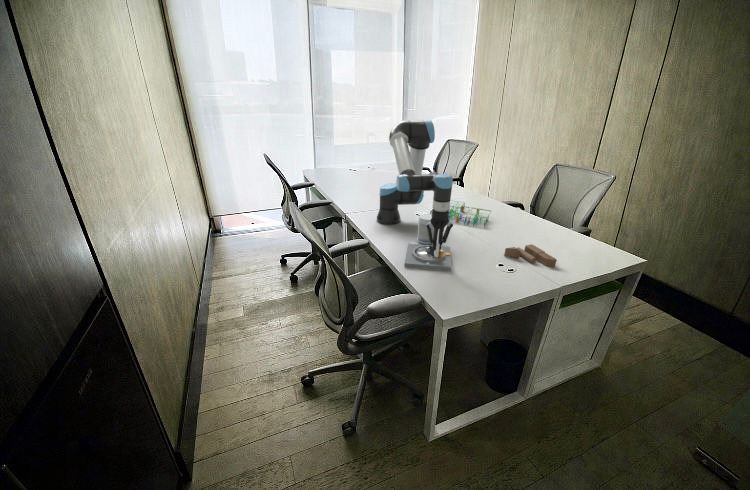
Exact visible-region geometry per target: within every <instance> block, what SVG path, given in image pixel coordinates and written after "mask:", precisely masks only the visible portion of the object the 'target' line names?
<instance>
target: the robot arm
mask: <svg viewBox="0 0 750 490" xmlns="http://www.w3.org/2000/svg"><path fill="white" fill-rule="evenodd" d="M435 131H436V130H435V126H434V123H433V121H432V120H429V119H428V120H427V119H416V120H415V119H411V120H410V119H403V120H400V121H398V122H397V123H396V124H394V125H393V127H392V128H391V130H390V132H389V136H388V141H389V145H390V146H391V147H392V149H393V153H394V158H395V163H396V166H397V170H398V175H397V176H396V181H395V182H396V183H394V182H388V183H386V184H382V185H381V186H380V187H379V208H378V212H377V215H376V221H377V223H380V224H381V225H387V226H388V225H389V226H390V225H391V226H392V225H397V224H398V223H400V222H401V215H400V211H399V206H401V205H418V204H421V203H422V201H423V200H424V192H425V191H426V192H430V191H433V197H432V198H433V199H432V200H433V201H432V209H431V210H432V212H431V214H432V218H431V220H430V222H429V223H426V224H425V225H426V227H427V230H428V236H429V241H430V242H431V243H432V245H433V250H434V256H435V257H438V255H439V250H441V246H442V245H443V244H446V243H447V240H448V238H449V234H450V232H451V229H452V228H453V226H454V224H453V222H452V221H450V219H449V220H448V217H449V212H450V210H449V208H451V205H450V203H451V200H452V199H451V198H452V189H453V185H454V183H453V181H454V179H453V178H454V177H453V176H452V175H451V174H448V173H438V172H436V171H432V172H429V173H428V174H427V173H425V174H424V173H423V167H424V162H425V158H426V157H425V156H426V151H427V150H428V149H429V148H430V145H431V144H434V142H435V137H436V132H435ZM431 224H432V225H433V227H434V235H433V238H432V232H431V228H430V227H431Z"/></svg>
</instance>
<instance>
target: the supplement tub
mask: <svg viewBox="0 0 750 490" xmlns="http://www.w3.org/2000/svg"><path fill="white" fill-rule="evenodd" d="M431 218H432V213H431V214H430V213H422V214H420V215H419V216H418V226H417V242H419V243H420V244H421V245H433V243H431V242H430V241H429V236H428V230H427V227H426V225H425V224H426V223H429V222H430V220H431ZM430 228H431V232H432V238H433V235H434V227H433V225H432V224H431V227H430Z"/></svg>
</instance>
